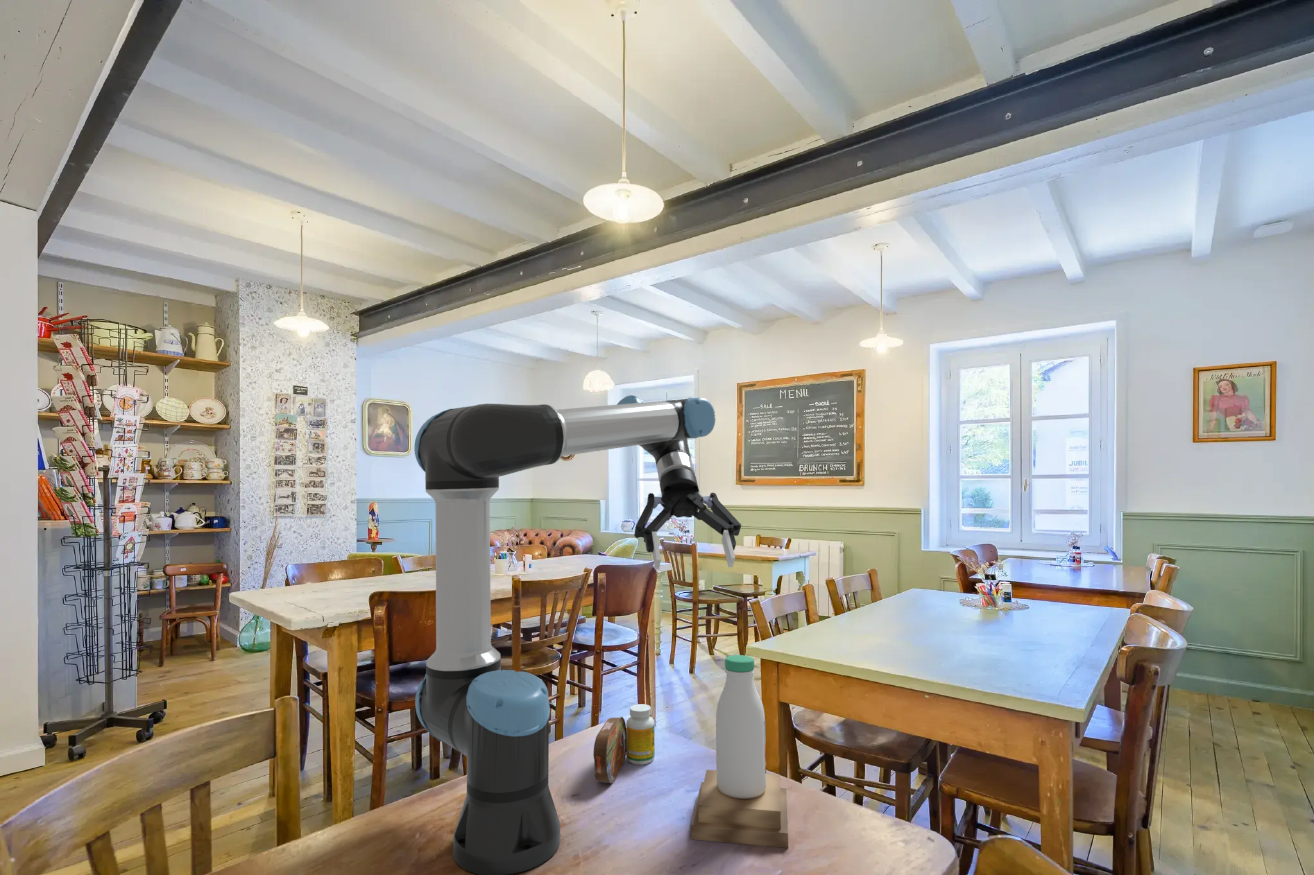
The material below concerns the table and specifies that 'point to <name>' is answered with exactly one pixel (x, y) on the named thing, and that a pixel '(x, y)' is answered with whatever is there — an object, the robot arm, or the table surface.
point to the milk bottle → (740, 733)
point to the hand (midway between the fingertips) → (695, 563)
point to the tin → (610, 750)
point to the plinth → (742, 831)
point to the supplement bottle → (640, 735)
